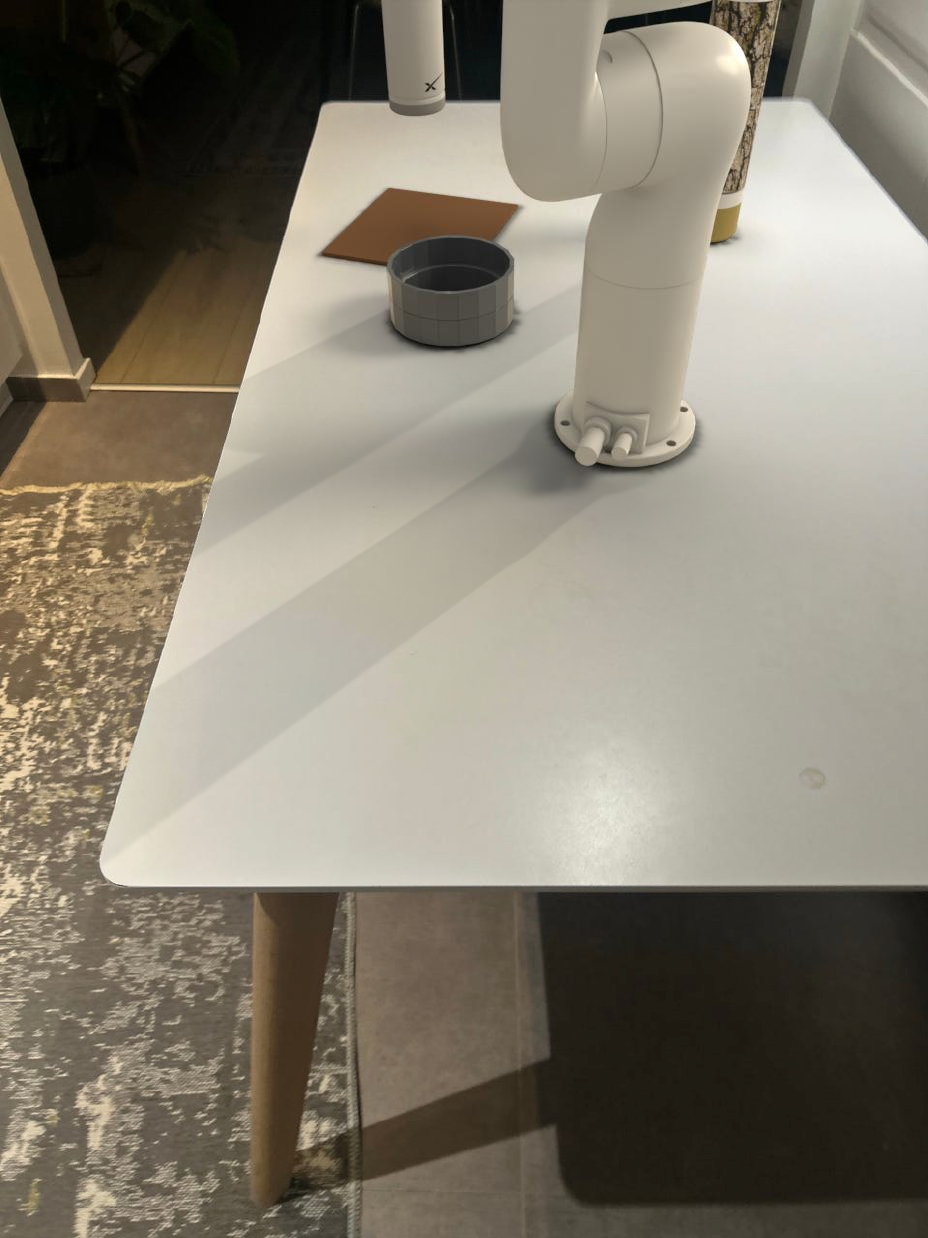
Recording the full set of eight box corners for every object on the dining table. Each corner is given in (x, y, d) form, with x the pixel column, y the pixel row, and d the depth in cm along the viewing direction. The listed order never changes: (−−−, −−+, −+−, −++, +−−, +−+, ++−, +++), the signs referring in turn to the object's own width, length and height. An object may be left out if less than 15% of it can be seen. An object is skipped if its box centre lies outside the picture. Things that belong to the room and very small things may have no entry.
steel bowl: (489, 357, 93) (489, 301, 88) (372, 336, 96) (366, 281, 92) (528, 298, 101) (530, 244, 97) (419, 281, 104) (416, 228, 100)
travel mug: (447, 116, 101) (439, -116, 86) (387, 117, 101) (369, -114, 86) (449, 97, 105) (441, -127, 91) (391, 98, 105) (375, -125, 91)
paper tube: (719, 249, 108) (765, -1, 90) (668, 235, 111) (703, -10, 93) (745, 229, 112) (794, -16, 94) (694, 215, 115) (733, -24, 97)
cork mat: (464, 277, 105) (464, 273, 104) (321, 255, 109) (321, 251, 109) (518, 207, 118) (518, 204, 117) (389, 190, 122) (388, 187, 122)
